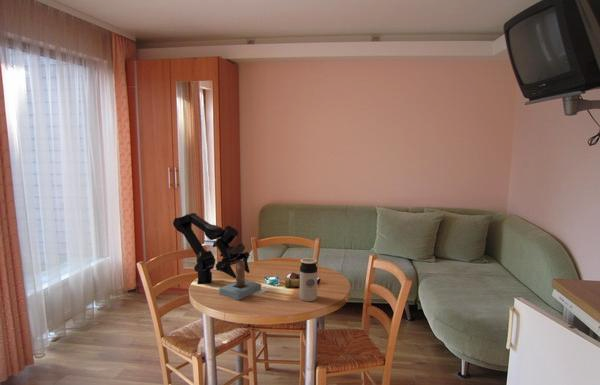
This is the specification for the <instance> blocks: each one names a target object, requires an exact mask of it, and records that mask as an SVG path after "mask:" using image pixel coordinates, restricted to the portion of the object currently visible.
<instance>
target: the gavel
mask: <svg viewBox="0 0 600 385" xmlns="http://www.w3.org/2000/svg"><path fill="white" fill-rule="evenodd" d="M290 277H291V278H289V277H288V278H287V277H286V278H284V288H294V287H295V288H298V287H299V288H300V278H297V274H296V273H295V272H291V274H290Z"/></svg>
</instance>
